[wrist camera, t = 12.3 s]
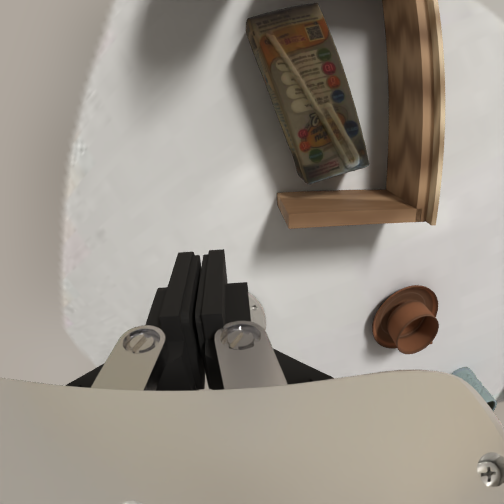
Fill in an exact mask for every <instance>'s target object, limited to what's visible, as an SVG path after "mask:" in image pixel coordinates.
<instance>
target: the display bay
mask: <svg viewBox="0 0 504 504" xmlns="http://www.w3.org/2000/svg"><path fill="white" fill-rule="evenodd" d="M382 3H383V12H384V22H385V33H386V46H387V63H388V90H389V135H388V164H387V182H386V189H385V190H333V191H305V192H284V193H277V205H278V207H279V209H280V211H281V213H282V215H283V218H284V220H285V222H286V224H287V226H288V228H289V229H293V228H309V227H326V226H344V225H362V224H382V223H403V222H425V221H426V222H427V223H429V224H430V225H436V219H437V212H438V204H439V196H440V187H441V178H442V166H443V153H444V134H445V72H444V54H443V41H442V31H441V21H440V13H439V6H438V0H382Z"/></svg>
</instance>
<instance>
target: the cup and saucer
mask: <svg viewBox="0 0 504 504" xmlns="http://www.w3.org/2000/svg"><path fill="white" fill-rule="evenodd" d="M437 311H438V300H437V297H436V295H435V293H434V292H433V291H432V290H430V289H429V288H427V287H424V286H419V285H415V286H409V287H406V288H403V289H401V290H399V291H397V292H396V293H394V294H393V295H391V296H390V297H389V298H388V299H387V300H386V301H385V302H384V303H383V304H382V305H381V307H380V308H379V310H378V311H377V313H376V315H375V318H374V321H373V327H372V329H373V335H374V338H375V340H376V341H377V343H378V344H380V345H381V346H383V347H386V348H398V350H399V351H400V352H402V353H404V354H413V353H417V352H419V351H421V350H423V349H424V348H426V347H427V346H428V345H429V344H432V341H433V339H434V338H435V336H436V334H437V332H438V328H439V324H438V321H437V319H436V318H435V317H436V315H437Z"/></svg>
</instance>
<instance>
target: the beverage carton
mask: <svg viewBox="0 0 504 504" xmlns="http://www.w3.org/2000/svg"><path fill="white" fill-rule="evenodd" d="M246 33H247V36H248V39H249V42H250V44H251V47H252V50H253V52H254V55H255V58H256V60H257V63H258V66H259V68H260V71H261V73H262V76H263V78H264V81H265V83H266V86H267V89H268V92H269V94H270V97H271V100H272V103H273V105H274V108H275V111H276V114H277V116H278V119H279V122H280V124H281V127H282V129H283V132H284V135H285V137H286V140H287V143H288V145H289V148H290V150H291V152H292V154H293V157H294V161H295V164H296V168H297V172H298V175H299V176H300V177H301V178H302V179H303V180H304V181H305V182H306V183H307V184H311V183H315V182H318V181H321V180H324V179H327V178H330V177H333V176H336V175H340V174H343V173H347V172H350V171H355V170H358V169H362V168H365V167H367V166H369V161H368V156H367V151H366V146H365V142H364V139H363V135H362V130H361V126H360V123H359V119H358V116H357V112H356V108H355V105H354V101H353V98H352V95H351V91H350V88H349V84H348V81H347V78H346V75H345V72H344V69H343V66H342V63H341V60H340V57H339V55H338V52H337V49H336V46H335V44H334V41H333V38H332V36H331V33H330V31H329V28H328V26H327V24H326V21H325V19H324V16H323V14H322V12H321V10H320V7H319V5H318V3H313V4H306V5H300V6H295V7H290V8H285V9H281V10H277V11H273V12H270V13H266V14H262V15H258V16H255V17H251V18H248V19H247V22H246Z"/></svg>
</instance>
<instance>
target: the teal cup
mask: <svg viewBox="0 0 504 504" xmlns="http://www.w3.org/2000/svg"><path fill="white" fill-rule="evenodd" d="M452 375H455V376H457V377H460V378H462V379H463V380H464V381H466V382H467V383H468V384H470V385H471V386H472V387H473V388H474V389H475V390H476V391H477V392H478V393H479V394H480V395H481V397H482V398H483V399H484V400H485V401H486V403H487V404H488V405H489V406H490V408H491V409H492V411H494V410H495V408H496V405H497V402H496V400H495V399H494V398H493V397H492V395H491V394H490V393H489V392H488V391H487V389H486V388H485V387H484V386H482V384H481V382H480V381H479V380H478V379H477V378H476V376H475V374H474V373H473V372H472V371H471V370H470V369H469V368H468V367H463V368H460V369H458V370H456V371H454V372H453V373H452Z"/></svg>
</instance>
